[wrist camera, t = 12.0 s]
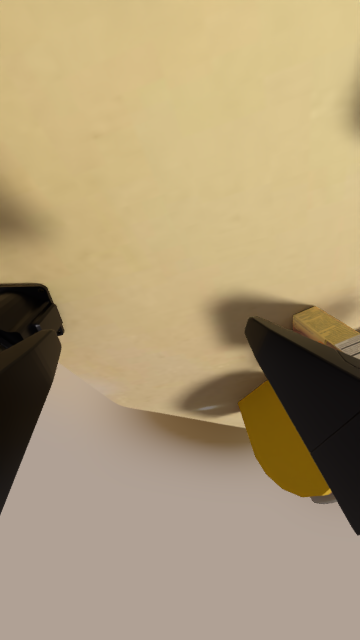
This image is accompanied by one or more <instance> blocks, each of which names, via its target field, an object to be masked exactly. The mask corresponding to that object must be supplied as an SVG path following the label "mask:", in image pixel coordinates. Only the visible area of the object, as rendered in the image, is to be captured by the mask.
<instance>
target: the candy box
mask: <svg viewBox="0 0 360 640" xmlns="http://www.w3.org/2000/svg"><path fill="white" fill-rule="evenodd" d="M293 332H296V333H298V334H300V335H303V336H305V337H308V338H310V339H312V340H315V341H317V342H319V343H322V344H324V345H327V346H329V347H331V348H334V349H335V350H339V351H341V352H343V353H346V354H348V355H351V356H353V357H356V358H358V359H360V333H359V332H357V331H356V330H354V329H352V328H351V327H349V326H347V325H346V324H344V323H342V322H341V321H339V320H337V319H336V318H334V317H332V316H331V315H329V314H327V313H326V312H324V311H323V310H321V309H319V308H318V307H316V306H314V307H311V308H309V309H307V310H305V311H302V312H300V313H298V314H295V315H293Z"/></svg>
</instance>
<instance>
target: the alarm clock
mask: <svg viewBox="0 0 360 640" xmlns="http://www.w3.org/2000/svg"><path fill="white" fill-rule="evenodd" d="M238 405H239V408H240V411H241V414H242V418H243V421H244V424H245V427H246V430H247V433H248V436H249V439H250V442H251V445H252V448H253V451H254V455H255V457H256V459H257V460H258V462H259V464H260V465H261V467H262V468H263V470H264V472H265V473H266V474H267V475H268V476H269V477H270V478H271V479H272V480H273V481H274V482H275V483H276V484H277V485H279V486H280V487H281V488H282V489H284V490H286V491H288V492H291V493H293V494H296V495H298V496H300V497H311V499H312V501H313V502H314V503H319V504H328V503H334V502H337V500H336V499H335V497H334V495H333V493H332V492H331V490H330V488H329V486H328V485H327V483H326V481H325V479H324V478H323V476H322V474H321V472H320V471H319V469H318V467H317V465H316V464H315V462H314V460H313V458H312V457H311V455H310V452H309V451H308V449H307V448H306V446H305V444H304V442H303V441H302V439H301V437H300V435H299V434H298V432H297V430H296V428H295V427H294V425H293V423H292V421H291V420H290V418H289V416H288V414H287V413H286V411H285V409H284V407H283V406H282V404H281V402H280V400H279V398H278V397H277V395H276V393H275V391H274V390H273V388H272V386H271V384H270V383H269V381H268V380H267V381H265V382H264V383H263V384H261V385H260V386H259V387H258V388H256V389H255V390H254V391H252V392H251V393H250V394H248V395H247V396H246V397H245V398H243V399H242V400H241V401H239V402H238Z"/></svg>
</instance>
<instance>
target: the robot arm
mask: <svg viewBox="0 0 360 640" xmlns="http://www.w3.org/2000/svg"><path fill="white" fill-rule="evenodd" d="M40 289H43V290H44V291H41V290H40ZM62 323H63V322H62V319H61V317H60V314H59V312H58V309H57V306H56V305H55V304H54V303H53V301H52V298H51V296H50V293H49V291H48V288H47V287H46V286H44V285H1V286H0V514H1V512H2V509H3V507H4V504H5V502H6V499H7V497H8V494H9V491H10V489H11V486H12V484H13V481H14V479H15V476H16V474H17V471H18V469H19V466H20V464H21V461H22V459H23V456H24V454H25V451H26V448H27V446H28V443H29V441H30V438H31V436H32V433H33V431H34V428H35V425H36V423H37V421H38V418H39V415H40V413H41V411H42V408H43V405H44V403H45V400H46V398H47V395H48V393H49V390H50V388H51V385H52V382H53V379H54V376H55V372H56V367H57V364H58V360H59V356H60V352H61V343H60V341H59V338H58V336H61V335H63V333H64V328H63V326H62ZM58 331H60V332H58ZM245 335H246V338H247V340H248V342H249V344H250V347H251V349H252V351H253V354H254V356H255V358H256V360H257V362H258V363H259V365H260V367H261V369H262V370H263V372H264V374H265V376H266V377H267V379H268V381H269V383H270V384H271V386H272V388H273V390H274V391H275V393H276V395H277V397H278V398H279V400H280V402H281V404H282V406H283V407H284V409H285V411H286V413H287V414H288V416H289V418H290V420H291V421H292V423H293V425H294V427H295V428H296V430H297V432H298V434H299V435H300V437H301V439H302V441H303V442H304V444H305V446H306V448H307V449H308V451H309V452H310V455H311V457H312V458H313V460H314V462H315V464H316V465H317V467H318V469H319V471H320V472H321V474H322V476H323V478H324V479H325V481H326V483H327V485H328V486H329V488H330V490H331V492H332V493H333V495H334V497H335V499H336V500H337V502H338V504H339V506H340V507H341V509H342V511H343V513H344V514H345V516H346V518H347V520H348V521H349V523H350V525H351V527H352V528H353V530H354V531H355V533H356V534H357V535H360V359H358V358H356V357H353V356H351V355H348V354H346V353H343V352H341V351H339V350H335V349H334V348H331V347H329V346H327V345H324V344H322V343H319V342H317V341H315V340H312V339H310V338H308V337H305V336H303V335H300V334H298V333H296V332H293V331H291V330H288V329H286V328H284V327H281V326H279V325H277V324H274V323H272V322H269V321H267V320H265V319H262V318H260V317H250V318H249V319H248V321H247V324H246V327H245Z"/></svg>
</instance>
